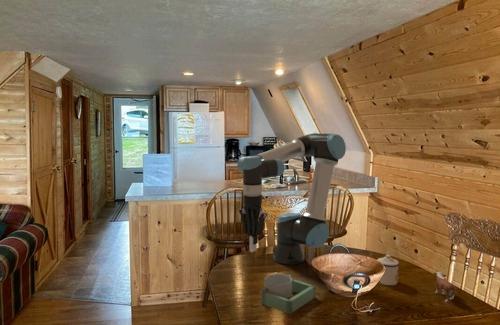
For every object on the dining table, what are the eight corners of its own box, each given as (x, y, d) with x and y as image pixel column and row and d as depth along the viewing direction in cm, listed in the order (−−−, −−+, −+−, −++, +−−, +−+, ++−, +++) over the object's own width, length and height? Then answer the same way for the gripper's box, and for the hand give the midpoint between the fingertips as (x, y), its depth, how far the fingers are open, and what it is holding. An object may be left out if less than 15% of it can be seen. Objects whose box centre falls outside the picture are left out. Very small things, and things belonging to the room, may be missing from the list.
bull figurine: (441, 289, 160) (442, 270, 159) (456, 304, 146) (458, 283, 146) (430, 288, 160) (431, 269, 159) (444, 303, 147) (446, 283, 146)
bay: (288, 288, 159) (288, 274, 158) (315, 297, 151) (315, 282, 150) (261, 303, 145) (262, 288, 144) (289, 314, 137) (290, 298, 137)
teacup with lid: (400, 286, 162) (401, 259, 161) (378, 285, 163) (379, 258, 162) (393, 275, 174) (395, 250, 173) (372, 274, 175) (374, 249, 174)
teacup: (291, 305, 144) (291, 285, 143) (262, 303, 145) (262, 283, 144) (292, 290, 157) (293, 271, 157) (266, 288, 159) (266, 269, 158)
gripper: (234, 194, 157) (235, 250, 160) (259, 198, 149) (260, 257, 152) (246, 191, 163) (246, 245, 165) (271, 194, 155) (271, 251, 157)
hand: (253, 250), depth 159 cm, fingers closed
